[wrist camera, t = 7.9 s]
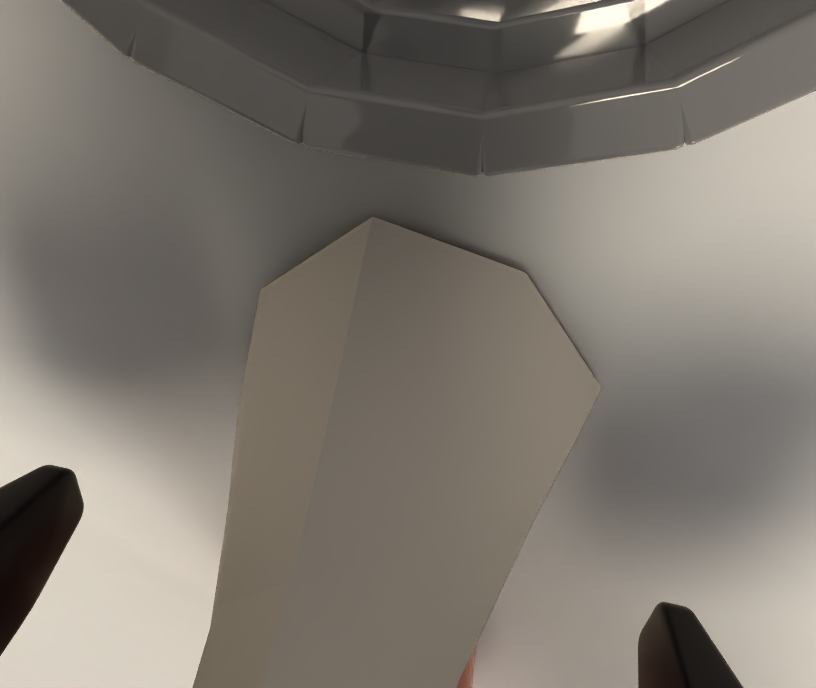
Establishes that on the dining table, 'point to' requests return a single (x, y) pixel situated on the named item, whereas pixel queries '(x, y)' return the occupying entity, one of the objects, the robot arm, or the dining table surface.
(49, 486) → the robot arm
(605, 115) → the bowl
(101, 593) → the dining table surface
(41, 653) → the dining table surface
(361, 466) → the flask
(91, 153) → the dining table surface
